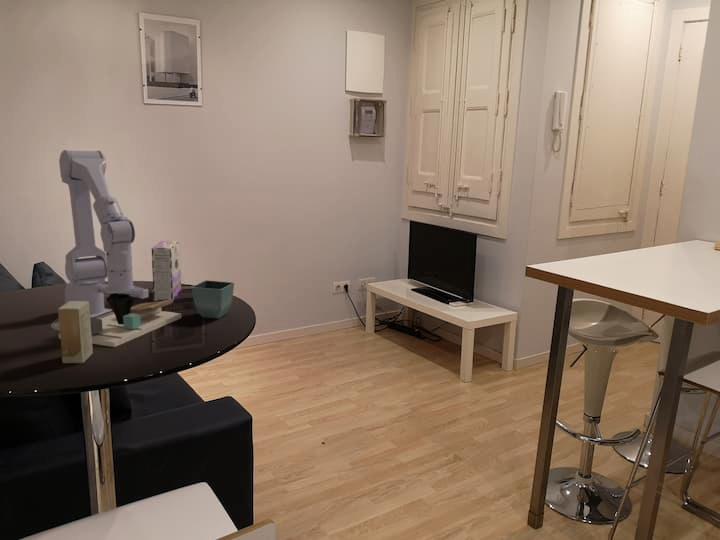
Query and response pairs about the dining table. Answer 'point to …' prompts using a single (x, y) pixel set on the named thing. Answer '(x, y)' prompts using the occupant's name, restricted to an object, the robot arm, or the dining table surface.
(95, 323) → the graphite slider
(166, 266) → the candy box
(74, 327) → the skincare box
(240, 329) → the dining table surface
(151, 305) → the panel
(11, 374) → the dining table surface
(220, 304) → the flower pot
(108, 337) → the panel
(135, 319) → the teal slider
